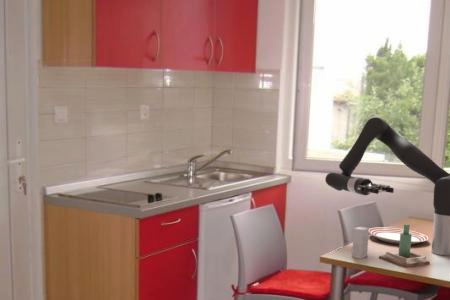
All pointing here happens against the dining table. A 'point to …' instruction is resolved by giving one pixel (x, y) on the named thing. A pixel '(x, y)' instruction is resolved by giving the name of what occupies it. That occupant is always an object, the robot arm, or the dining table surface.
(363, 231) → the skincare box
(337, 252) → the dining table surface
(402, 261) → the bottle holder
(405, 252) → the green bottle
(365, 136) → the robot arm
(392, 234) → the dinner plate
